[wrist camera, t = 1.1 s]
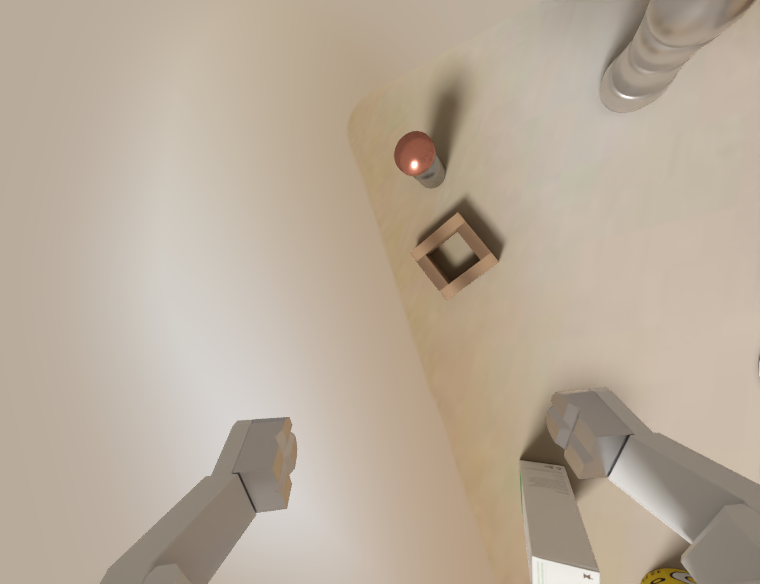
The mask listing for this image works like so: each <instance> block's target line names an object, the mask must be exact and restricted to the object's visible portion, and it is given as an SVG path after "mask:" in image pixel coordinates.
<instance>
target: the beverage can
mask: <svg viewBox="0 0 760 584" xmlns="http://www.w3.org/2000/svg"><path fill="white" fill-rule="evenodd" d="M641 584H697V583H696V582H695V580H694V579H693V578H692V576H691V575H690V574H689V572H687V571H684V570H679V569H674V568H663V569H658V570H654V571H652V572H650V573H648V574H647V575H646V576H645V577H644V578H643V579H642V581H641Z"/></svg>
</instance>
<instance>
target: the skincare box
mask: <svg viewBox="0 0 760 584" xmlns="http://www.w3.org/2000/svg"><path fill="white" fill-rule="evenodd" d="M519 466H520V485H521V504H522V513H523V522H524V530H525V539H526V548H527V556H528V565H529V573H530V581H531V584H600V571H599V568H598V565H597V562H596V560H595V557H594V554H593V551H592V548H591V545H590V542H589V539H588V536H587V533H586V530H585V527H584V524H583V521H582V518H581V515H580V512H579V509H578V506H577V503H576V500H575V497H574V494H573V491H572V488H571V485H570V482H569V479H568V476H567V473H566V469H565V467H564V466H559V465H552V464H546V463H538V462H531V461H523V460H520V461H519Z"/></svg>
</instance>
